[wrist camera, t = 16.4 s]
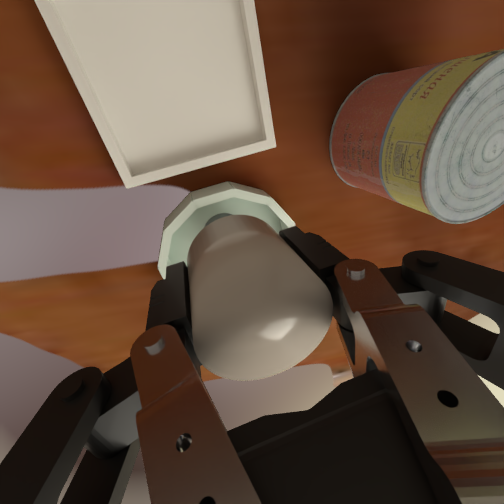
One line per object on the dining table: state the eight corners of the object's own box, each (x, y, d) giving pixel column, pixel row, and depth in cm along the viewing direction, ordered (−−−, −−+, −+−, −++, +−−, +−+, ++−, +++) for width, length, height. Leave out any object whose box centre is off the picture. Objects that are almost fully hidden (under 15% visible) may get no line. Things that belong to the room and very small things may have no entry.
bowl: (137, 207, 24) (132, 218, 21) (276, 166, 26) (288, 172, 23) (188, 313, 31) (189, 330, 29) (294, 276, 33) (303, 289, 31)
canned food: (438, 107, 28) (592, 101, 17) (379, 200, 31) (478, 240, 21) (369, 47, 23) (524, -10, 13) (310, 165, 27) (394, 194, 17)
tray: (26, -30, 16) (12, -44, 14) (236, -65, 17) (241, -80, 16) (129, 184, 23) (126, 188, 22) (270, 145, 25) (276, 146, 23)
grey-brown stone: (171, 232, 10) (169, 300, 6) (274, 201, 10) (329, 245, 7) (204, 312, 12) (217, 397, 8) (287, 283, 13) (335, 350, 9)
